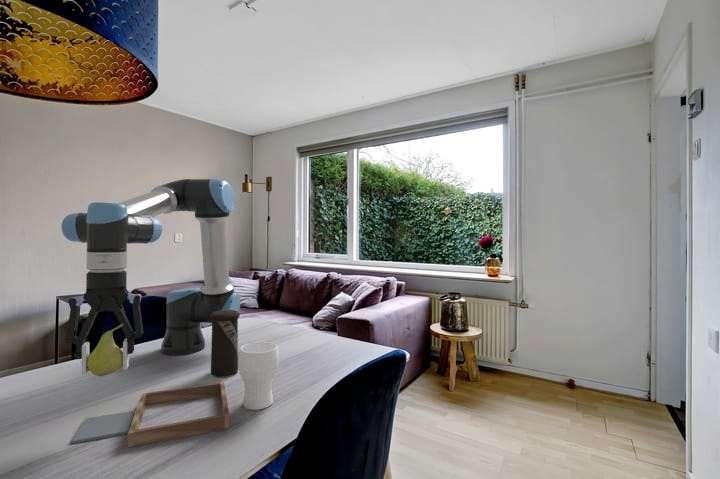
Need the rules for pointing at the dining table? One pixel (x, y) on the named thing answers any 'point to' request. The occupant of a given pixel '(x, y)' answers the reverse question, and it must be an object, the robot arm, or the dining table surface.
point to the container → (224, 343)
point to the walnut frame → (179, 428)
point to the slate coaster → (104, 426)
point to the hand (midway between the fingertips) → (106, 369)
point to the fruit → (105, 356)
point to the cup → (258, 373)
